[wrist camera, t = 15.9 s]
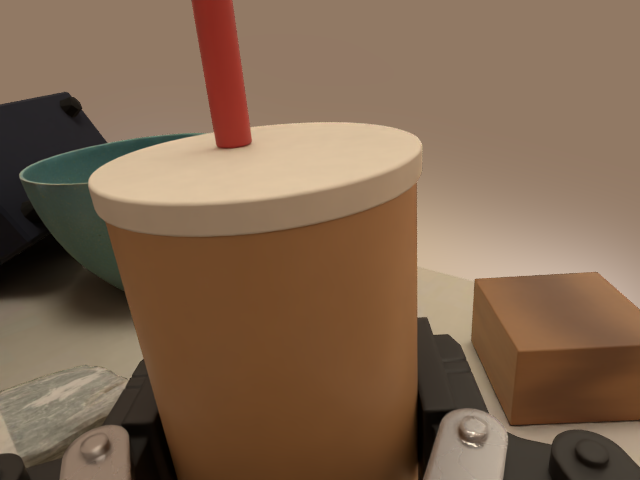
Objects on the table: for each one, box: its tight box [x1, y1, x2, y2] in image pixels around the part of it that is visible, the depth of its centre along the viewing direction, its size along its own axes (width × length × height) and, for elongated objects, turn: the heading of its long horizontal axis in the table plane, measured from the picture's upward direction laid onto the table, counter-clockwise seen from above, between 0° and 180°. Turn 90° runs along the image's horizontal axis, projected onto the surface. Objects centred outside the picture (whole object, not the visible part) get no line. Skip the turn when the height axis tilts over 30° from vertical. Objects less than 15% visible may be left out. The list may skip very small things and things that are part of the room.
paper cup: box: [88, 0, 422, 480], centre depth 10 cm, size 6×6×20 cm
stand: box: [471, 272, 640, 425], centre depth 28 cm, size 8×8×5 cm
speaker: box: [0, 92, 107, 266], centre depth 51 cm, size 22×13×15 cm
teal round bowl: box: [19, 133, 206, 291], centre depth 44 cm, size 18×18×12 cm
